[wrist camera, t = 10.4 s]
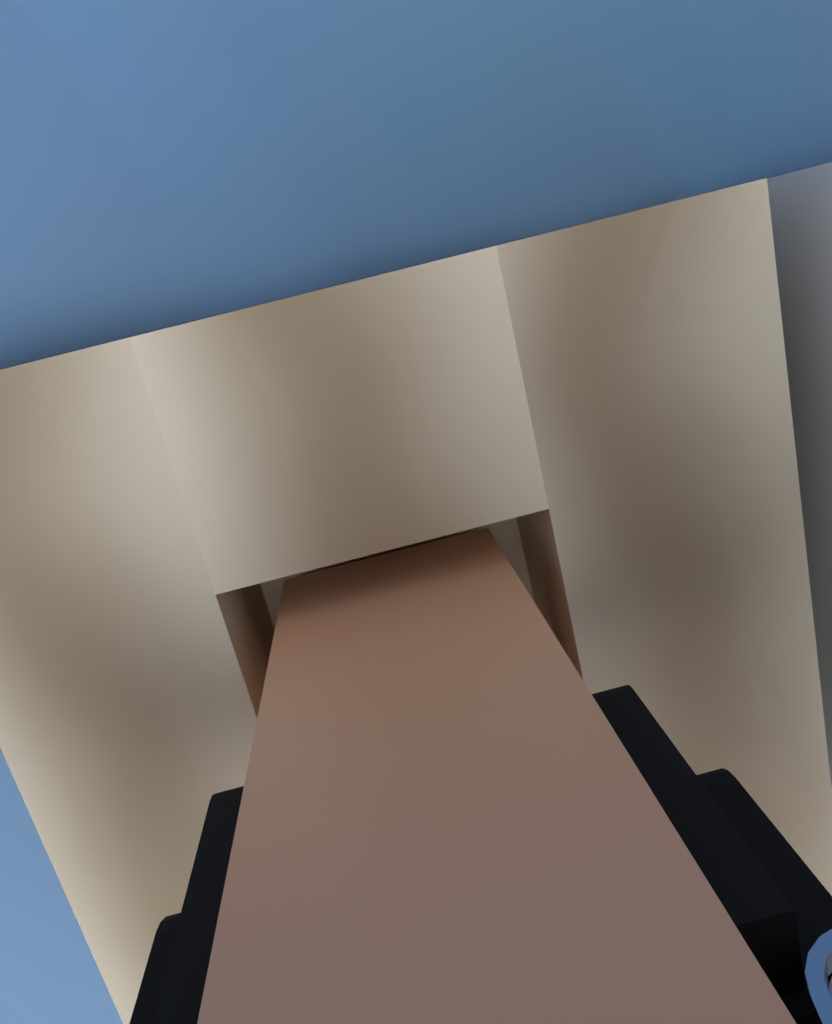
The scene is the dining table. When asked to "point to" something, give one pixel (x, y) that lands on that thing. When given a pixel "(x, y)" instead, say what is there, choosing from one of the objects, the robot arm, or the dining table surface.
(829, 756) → the upper socket
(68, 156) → the dining table surface
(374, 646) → the plug
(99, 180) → the dining table surface
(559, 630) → the lower socket
